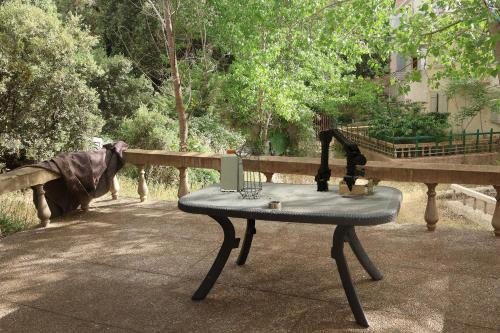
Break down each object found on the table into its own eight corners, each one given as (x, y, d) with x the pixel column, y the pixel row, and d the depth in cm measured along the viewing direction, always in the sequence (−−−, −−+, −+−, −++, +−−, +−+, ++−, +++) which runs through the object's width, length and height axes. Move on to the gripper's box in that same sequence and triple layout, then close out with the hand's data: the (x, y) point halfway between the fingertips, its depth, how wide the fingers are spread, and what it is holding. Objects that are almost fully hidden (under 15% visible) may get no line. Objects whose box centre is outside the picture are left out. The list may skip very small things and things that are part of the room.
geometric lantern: (233, 199, 287) (230, 143, 284) (244, 195, 301) (241, 141, 298) (256, 200, 280) (253, 142, 277) (266, 195, 295) (264, 141, 291)
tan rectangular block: (339, 192, 276) (339, 186, 276) (341, 190, 281) (341, 184, 281) (362, 193, 270) (362, 186, 270) (364, 191, 276) (364, 185, 275)
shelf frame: (339, 194, 286) (339, 181, 285) (343, 190, 297) (343, 178, 296) (369, 195, 279) (369, 182, 278) (372, 191, 290) (372, 179, 289)
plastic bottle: (240, 192, 310) (238, 150, 306) (218, 192, 314) (216, 151, 310) (246, 188, 324) (244, 148, 320) (226, 188, 328) (224, 149, 325)
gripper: (362, 166, 262) (362, 193, 264) (368, 162, 279) (368, 188, 281) (342, 166, 267) (343, 193, 269) (349, 162, 283) (350, 187, 285)
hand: (351, 190), depth 276 cm, fingers closed on tan rectangular block, 6 cm apart
